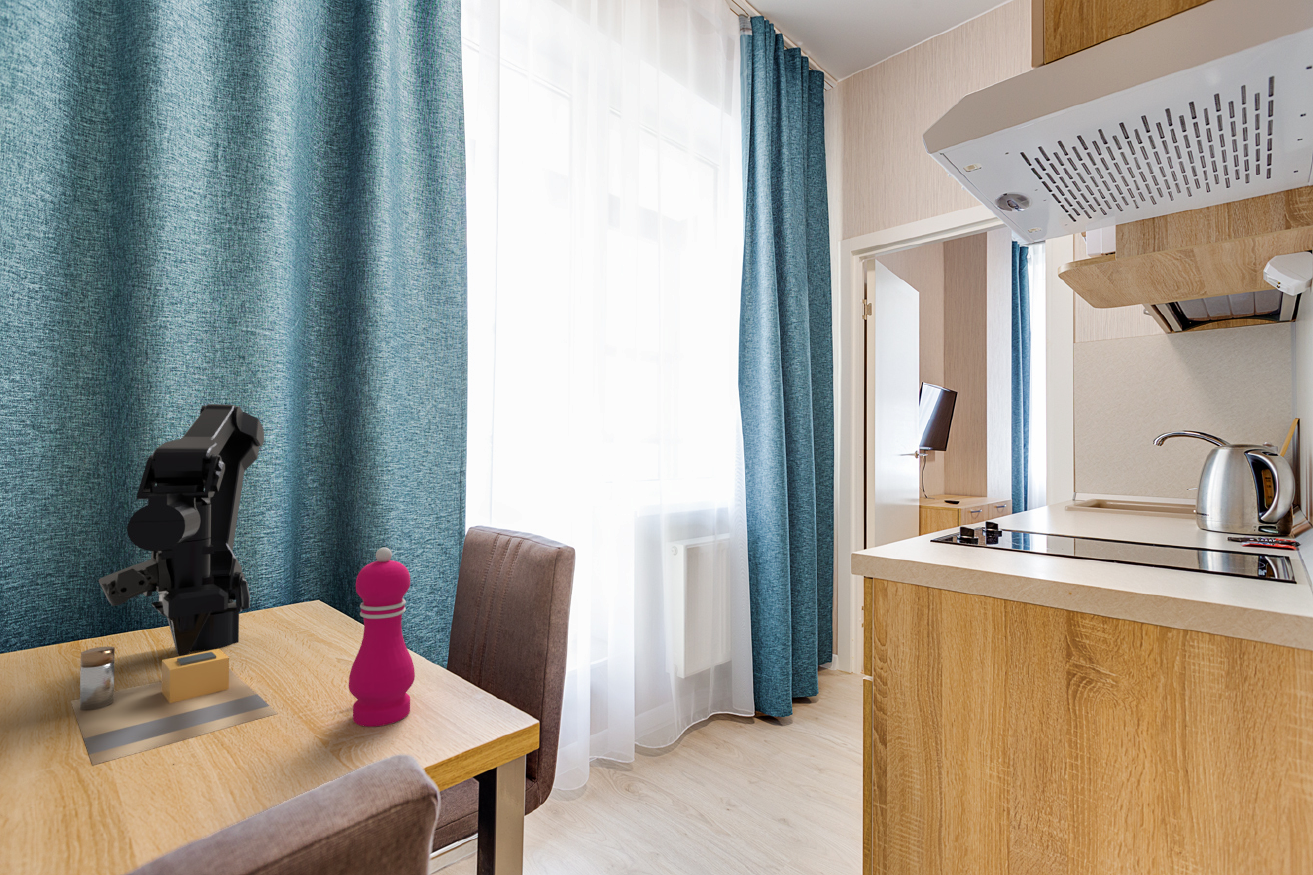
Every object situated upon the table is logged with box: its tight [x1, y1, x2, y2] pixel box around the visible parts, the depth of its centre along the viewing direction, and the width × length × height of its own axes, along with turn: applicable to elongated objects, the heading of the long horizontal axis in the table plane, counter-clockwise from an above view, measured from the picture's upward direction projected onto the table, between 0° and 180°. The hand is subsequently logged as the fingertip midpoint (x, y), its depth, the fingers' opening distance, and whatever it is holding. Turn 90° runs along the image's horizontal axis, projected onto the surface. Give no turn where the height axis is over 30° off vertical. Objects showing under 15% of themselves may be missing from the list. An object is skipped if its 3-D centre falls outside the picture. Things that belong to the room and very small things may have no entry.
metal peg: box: [79, 646, 116, 711], centre depth 74 cm, size 3×3×6 cm
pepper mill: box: [348, 546, 416, 728], centre depth 74 cm, size 7×7×20 cm
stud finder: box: [161, 648, 230, 703], centre depth 78 cm, size 6×5×4 cm
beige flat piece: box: [70, 668, 279, 766], centre depth 73 cm, size 16×22×1 cm
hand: (182, 654), depth 84 cm, fingers closed
